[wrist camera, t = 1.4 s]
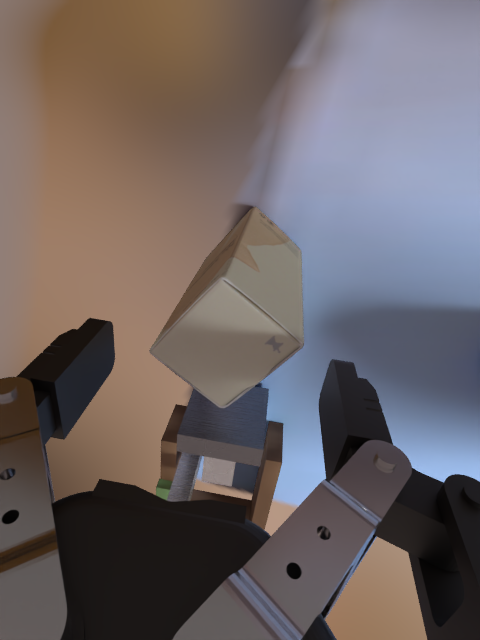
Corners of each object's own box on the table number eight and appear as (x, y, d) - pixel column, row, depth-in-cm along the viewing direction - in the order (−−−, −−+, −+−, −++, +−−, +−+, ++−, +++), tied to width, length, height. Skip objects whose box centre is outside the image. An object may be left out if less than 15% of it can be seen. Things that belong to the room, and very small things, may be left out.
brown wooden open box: (283, 423, 31) (281, 471, 26) (261, 510, 36) (258, 560, 32) (174, 404, 31) (156, 448, 27) (171, 492, 37) (155, 540, 33)
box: (255, 203, 22) (227, 268, 13) (304, 251, 23) (312, 345, 14) (201, 262, 24) (143, 355, 15) (248, 303, 26) (222, 414, 16)
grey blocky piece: (268, 389, 28) (260, 484, 21) (255, 452, 32) (244, 553, 25) (195, 376, 29) (162, 465, 21) (190, 441, 32) (160, 536, 25)
